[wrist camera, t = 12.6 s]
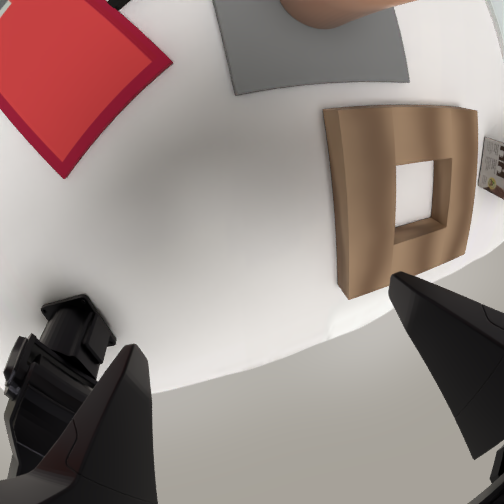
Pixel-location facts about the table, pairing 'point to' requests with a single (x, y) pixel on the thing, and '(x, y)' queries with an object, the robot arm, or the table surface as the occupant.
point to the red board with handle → (70, 72)
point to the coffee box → (492, 167)
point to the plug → (335, 10)
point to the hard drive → (497, 20)
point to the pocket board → (384, 189)
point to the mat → (306, 48)
